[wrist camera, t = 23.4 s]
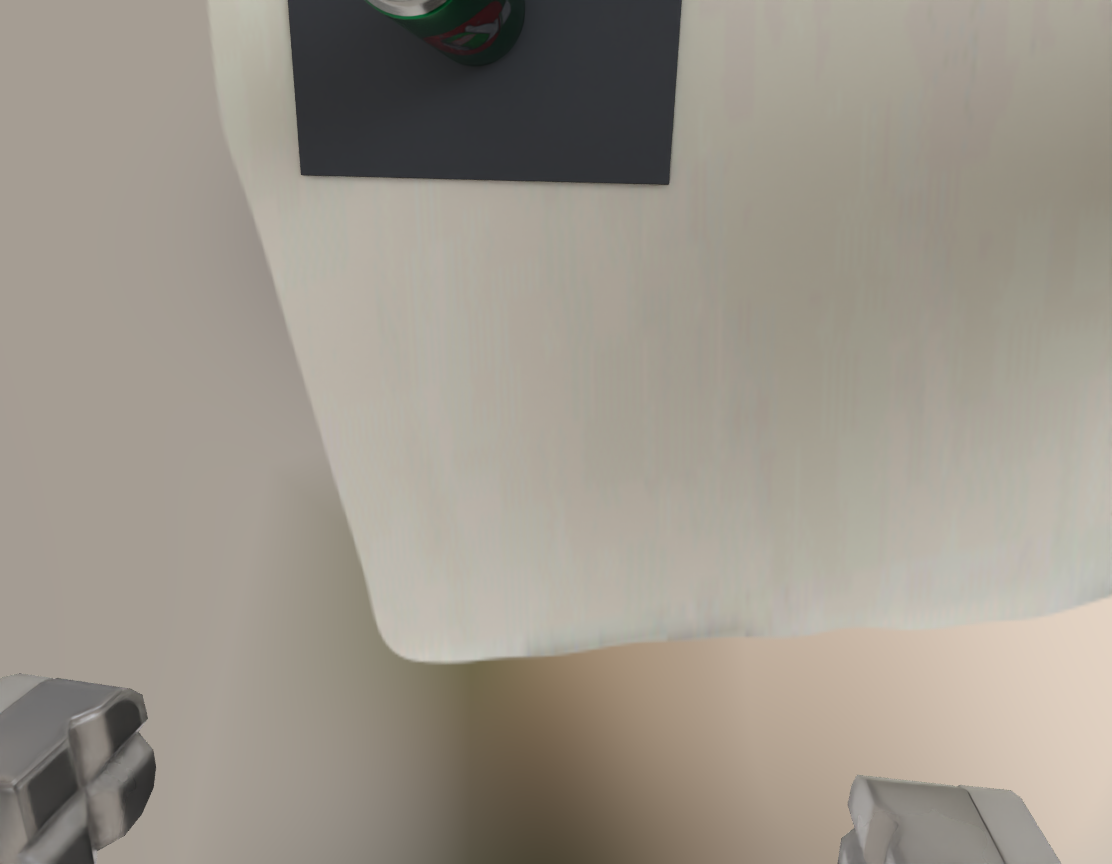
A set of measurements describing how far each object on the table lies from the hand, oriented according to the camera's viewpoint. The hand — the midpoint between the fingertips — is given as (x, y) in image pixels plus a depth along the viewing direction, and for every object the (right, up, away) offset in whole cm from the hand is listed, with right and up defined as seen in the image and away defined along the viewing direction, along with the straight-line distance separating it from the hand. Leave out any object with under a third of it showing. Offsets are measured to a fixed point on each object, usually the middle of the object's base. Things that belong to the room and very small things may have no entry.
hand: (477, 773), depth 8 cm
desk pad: (-3, +25, +29) cm, 38 cm away
